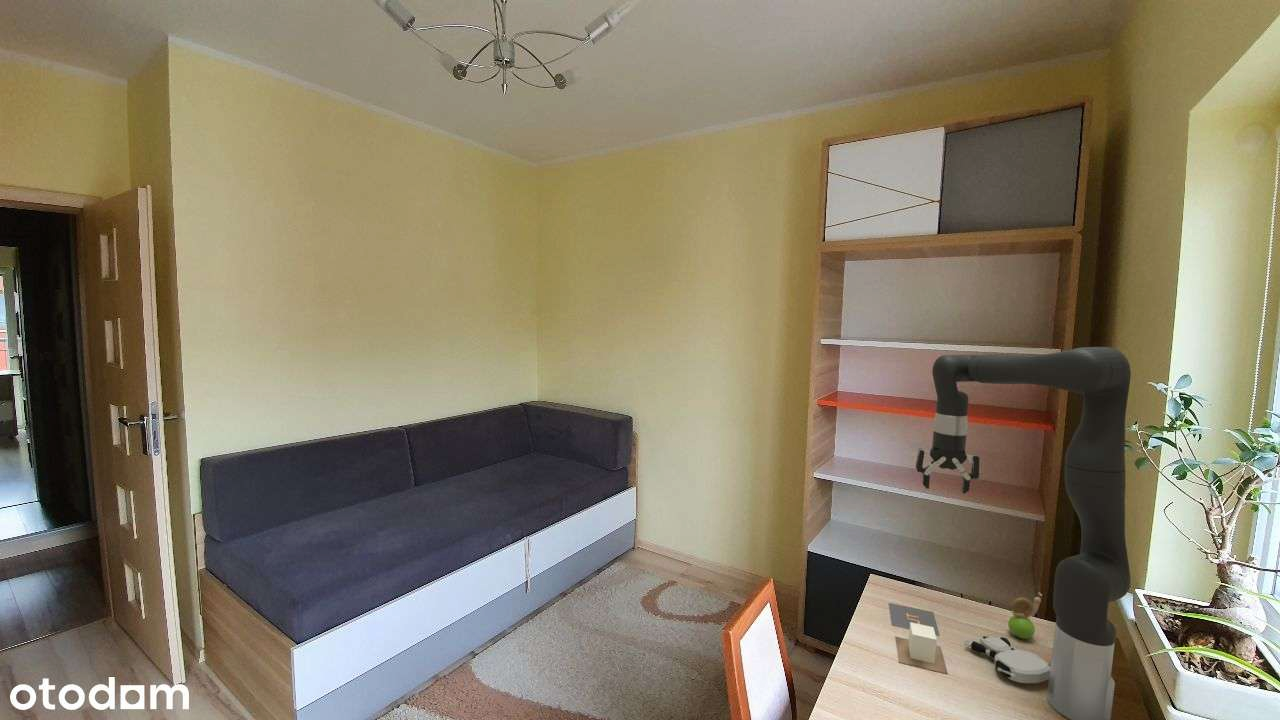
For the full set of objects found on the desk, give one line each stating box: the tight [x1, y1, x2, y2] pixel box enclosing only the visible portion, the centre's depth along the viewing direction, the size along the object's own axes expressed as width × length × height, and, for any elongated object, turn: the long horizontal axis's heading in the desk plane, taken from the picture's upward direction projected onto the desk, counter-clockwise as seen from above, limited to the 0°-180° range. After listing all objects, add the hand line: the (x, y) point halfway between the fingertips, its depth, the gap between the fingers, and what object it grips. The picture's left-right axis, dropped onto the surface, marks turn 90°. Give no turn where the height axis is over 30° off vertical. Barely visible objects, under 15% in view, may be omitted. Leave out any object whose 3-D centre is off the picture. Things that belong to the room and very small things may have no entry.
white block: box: [908, 622, 938, 664], centre depth 123 cm, size 5×5×6 cm
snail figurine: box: [1007, 592, 1043, 640], centre depth 131 cm, size 5×6×12 cm
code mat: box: [888, 602, 941, 637], centre depth 138 cm, size 11×11×1 cm
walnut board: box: [894, 635, 949, 676], centre depth 124 cm, size 10×10×1 cm
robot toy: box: [963, 635, 1051, 684], centre depth 120 cm, size 12×4×15 cm
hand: (944, 490), depth 138 cm, fingers open, 8 cm apart
